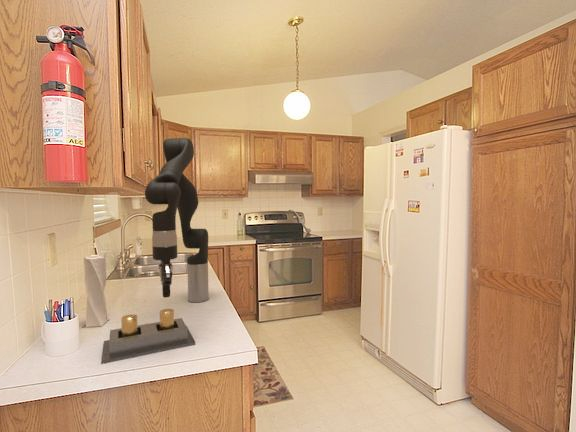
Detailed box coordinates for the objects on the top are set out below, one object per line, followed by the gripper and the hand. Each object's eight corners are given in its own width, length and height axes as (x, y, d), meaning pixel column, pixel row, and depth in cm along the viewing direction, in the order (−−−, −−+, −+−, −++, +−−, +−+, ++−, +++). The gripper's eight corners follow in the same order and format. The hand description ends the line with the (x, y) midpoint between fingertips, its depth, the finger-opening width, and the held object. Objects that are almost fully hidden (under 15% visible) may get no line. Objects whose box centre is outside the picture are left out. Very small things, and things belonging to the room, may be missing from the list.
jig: (103, 343, 104) (102, 313, 103) (186, 328, 116) (186, 301, 115) (101, 363, 91) (100, 329, 90) (195, 344, 102) (194, 314, 102)
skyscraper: (113, 320, 125) (111, 249, 124) (104, 328, 117) (102, 252, 116) (90, 321, 124) (87, 249, 123) (79, 329, 116) (76, 253, 115)
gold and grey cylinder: (159, 336, 107) (158, 310, 106) (173, 334, 109) (172, 307, 108) (161, 341, 103) (160, 314, 102) (175, 339, 105) (174, 311, 104)
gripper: (150, 242, 108) (152, 293, 109) (154, 247, 97) (156, 304, 98) (173, 241, 112) (175, 290, 113) (180, 245, 100) (181, 300, 101)
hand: (166, 296), depth 105 cm, fingers closed
